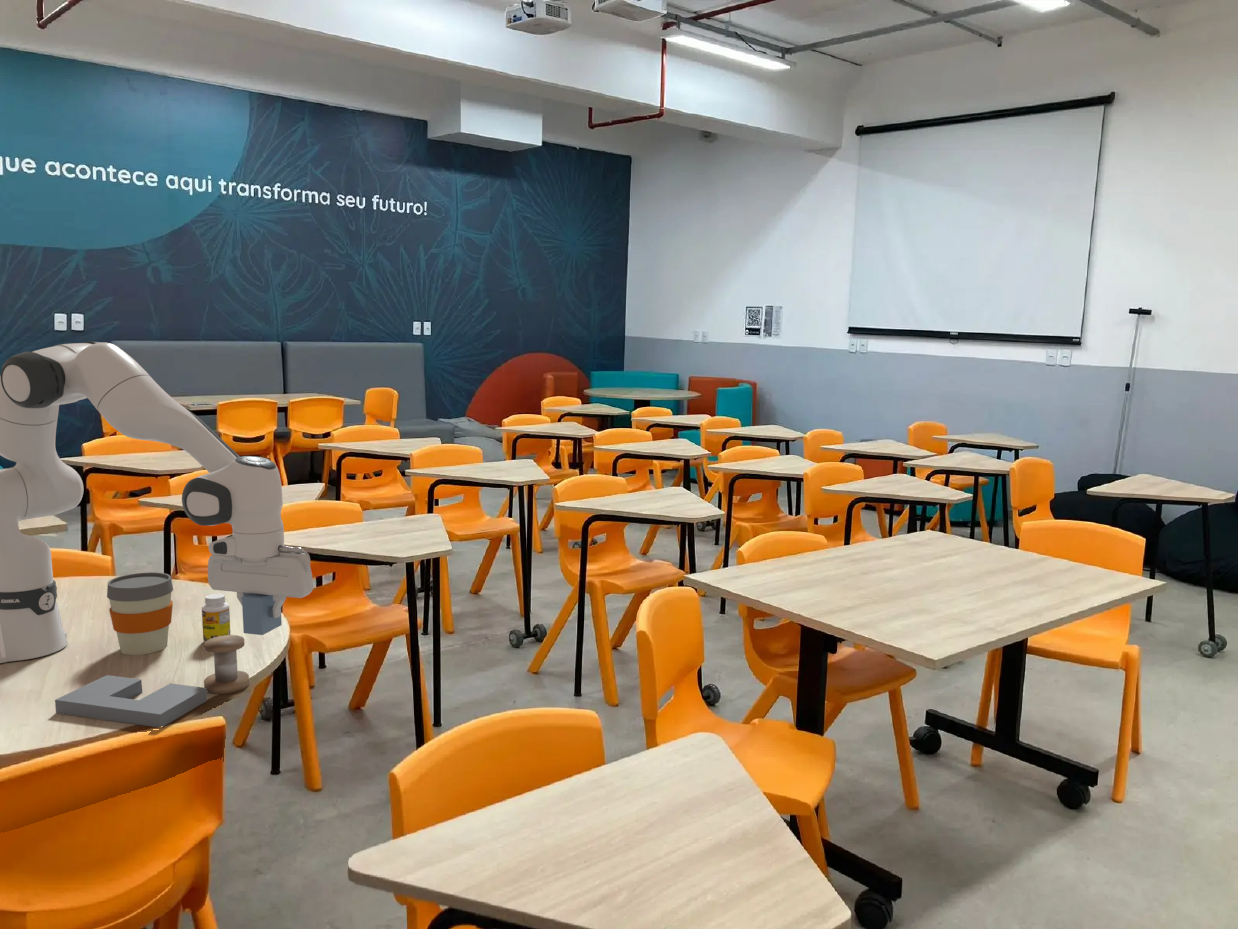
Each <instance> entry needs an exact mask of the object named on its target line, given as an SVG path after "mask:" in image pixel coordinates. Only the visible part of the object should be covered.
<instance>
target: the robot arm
mask: <svg viewBox="0 0 1238 929" xmlns="http://www.w3.org/2000/svg"><path fill="white" fill-rule="evenodd" d="M85 399H88V400H89V401H90V402H91V404H92V405H93V406H94V408H95V410H97V411H98V412H99V414H100V415H101V416H102V418H103V419H104V420H106V422H107V423H108V424H109V425H110V426H111V427H112V428H113V429H115V430H116V431H118V433H120V434H121V435H123V436H125V437H126V438H127V437H128V438H131V439H134V440H141V441H151V442H156V443H162V444H166V445H167V444H168V445H171V446H174V447H177V448H179V449H182V450H183V451H185V452H186V453H188V454H189V455H190V456H191V457H192V458H193V459H194V460H195V461H197V462H198V463H199V465H201V467H203V468H204V469H205V470H206V471H207V472H208V473H206V474H201V475H198V476H196V477H194V478H192V479H190V480H189V481H188V482H187V483H186V485H184V488H183V490H182V494H181V503H182V508H183V511H184V513H185V515H186V516H187V517H188V518H189V520H190V521H192V523H194V524H197V525H198V526H202V527H203V526H209V527H210V526H217V525H222V524H230V525H231V529H232V534H230V535H227V536H225V537H222V538H219V539H216V540H215V541H212V542H210V543H209V544H208V551H209V553H210V554H211V555H210V556H209V558H208V561H207V583H208V585H209V587H210V588H211V589H212V590H213V591H221V592H233V593H236V598H237V600H238V602H239V603H240V604H241V606H242V597H243V596H245V595H247V594H249V593H253V594H263V595H273V601H276V602H275V604H274V606H273V607H272V608H269V617H271V618H278V617H280V616H281V617H282V606H283V604H285V601H286V600H287V598H297V599H302V598H304V597H307V596H308V595H310V594H311V593H312V591H313V590H314V580H313V573H312V569H311V557H310V554H309V553H308V552H307V551H306V550H305V549H303V547H299V546H295V547H294V546H288V545H285V530H284V529H285V528H284V522H283V519H282V508H283V506H284V505H283V504H284V502H283V488H282V480H281V476H280V471H279V468H278V466H277V465H276V463H275V462H273V461H272V460H270V459H269V458H265V457H261V456H253V455H251V456H250V455H243V456H240V455H239V454H238V453H237V452H236V451H235V450H234V449H233V448H231V446H230V445H228V443H227V442H225V441H224V440H223V439H222V438H221V437H220V436H219V435H218V434H217V433H216V432H215V431H214V430H212V429H211V427H210V426H209V425H207V424H206V423H205V421H203V420H202V419H200V418H199V417H198V416H197V415H196V414H194V413H193V412H192V411H190V410H189V409H188V408H186V407H185V406H183V405H182V404H180V403H179V402H178V401H177V400H175V399H174V398H173V397H172V396H171V395H170V394H168V393H167V392H166V391H165V390H164V389H163V388H162V387H161V386H160V385H159V384H158V382H156V380H154V379H153V378H152V376H151V375H150V374H149V373H148V372H147V371H146V370H145V369H144V368H143V367H142V366H141V365H140V364H139V362H137V361H136V360H135V359H134V358H133V357H132V356H130V355H129V354H128V353H127V352H125V351H124V350H123V349H121V348H120V347H119V346H117V345H116V344H113V343H112V342H111V343H110V342H103V341H102V342H99V341H84V342H82V343H81V342H78V343H76V342H75V343H74V342H73V343H63V344H56V345H53V346H49V347H45V348H41V349H40V348H39V349H37V350H33V351H23V352H20V353H18V354H15V355H12V356H11V357H9V358H8V359H6V360H5V361H4V363H3V365H2V366H1V371H0V457H2V458H4V459H6V460H9V461H11V462H14V463H15V465H14V466H12V467H9V468H2V469H0V664H4V663H9V662H16V661H24V660H30V659H31V660H32V659H37V658H41V657H44V656H48V655H51V654H55V653H57V652H59V651H61V650H62V649H64V648H66V646H67V645H68V641H67V637H68V636H67V631H66V630H64V628H63V622H62V617H61V613H60V608H59V605H58V602H57V598H58V593H57V592H58V587H57V584H56V580H54V575H53V574H54V572H53V562H52V561H53V560H52V551H51V550H52V549H51V548H50V547H49V545H48V544H47V543H46V541H44V540H42V539H40V538H38V537H35V536H31V535H28V534H24V533H22V532H21V529H20V526H19V522H21V521H25V520H29V519H30V520H31V519H32V520H33V519H38V518H45V517H50V516H51V517H52V516H55V515H56V516H57V515H58V514H61V513H64V512H67V511H71V510H72V509H74V508H77V506H79V504H80V503H81V501H82V498H83V497H84V496H83V495H84V492H85V491H84V483H83V480H82V477H81V475H80V474H79V473H78V472H77V471H76V470H75V469H74V468H73V467H71V466H70V465H68V464H66V462H64V461H63V460H61V458H60V457H59V455H58V452H57V450H56V449H57V448H56V436H57V435H56V434H57V425H58V418H59V410H60V405H67V404H68V405H69V404H74V403H76V402H79V401H81V400H85Z"/></svg>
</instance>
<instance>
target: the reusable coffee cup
mask: <svg viewBox="0 0 1238 929" xmlns="http://www.w3.org/2000/svg"><path fill="white" fill-rule="evenodd" d="M173 591H174V586H173V581H172V576H171V575H170V574H168V573H165V572H157V571H156V572H155V571H154V572H153V571H152V572H151V571H148V572H137V573H136V572H135V573H130V574H125V575H120V576H117V577H114V578H112V579H110V580H108V582H107V591H106V592H107V593H106V598H107V599H108V600H109V604H110V608H109V615H110V618H111V619H110V620H111V624H112V629H113V631H114V632H116V637H117V641H118V647H119V650H120V653H122V654H123V655H128V656H142V655H149V654H153V653H157V652H159V651H163V650H164V649H165V648H166V647H167V646H168V642H169V641H168V640H169V638H168V637H169V628H170V627H169V626H170V625H171V623H172V614H173V605H174V602H173V600H172V592H173Z"/></svg>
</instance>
